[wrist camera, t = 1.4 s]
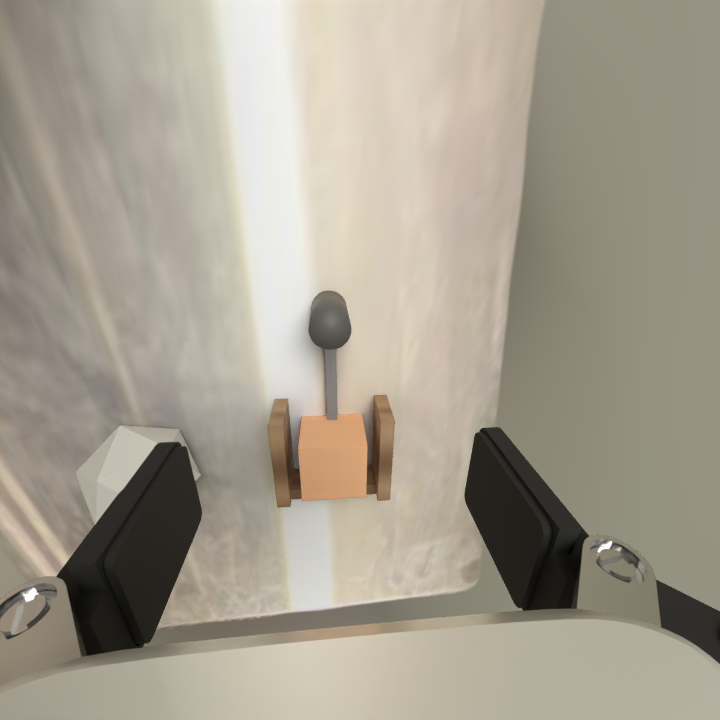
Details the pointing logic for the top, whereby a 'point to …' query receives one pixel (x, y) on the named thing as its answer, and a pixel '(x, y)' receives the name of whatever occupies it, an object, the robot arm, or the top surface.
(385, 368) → the top surface
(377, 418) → the shelf lane
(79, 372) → the top surface
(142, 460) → the die
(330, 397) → the block
